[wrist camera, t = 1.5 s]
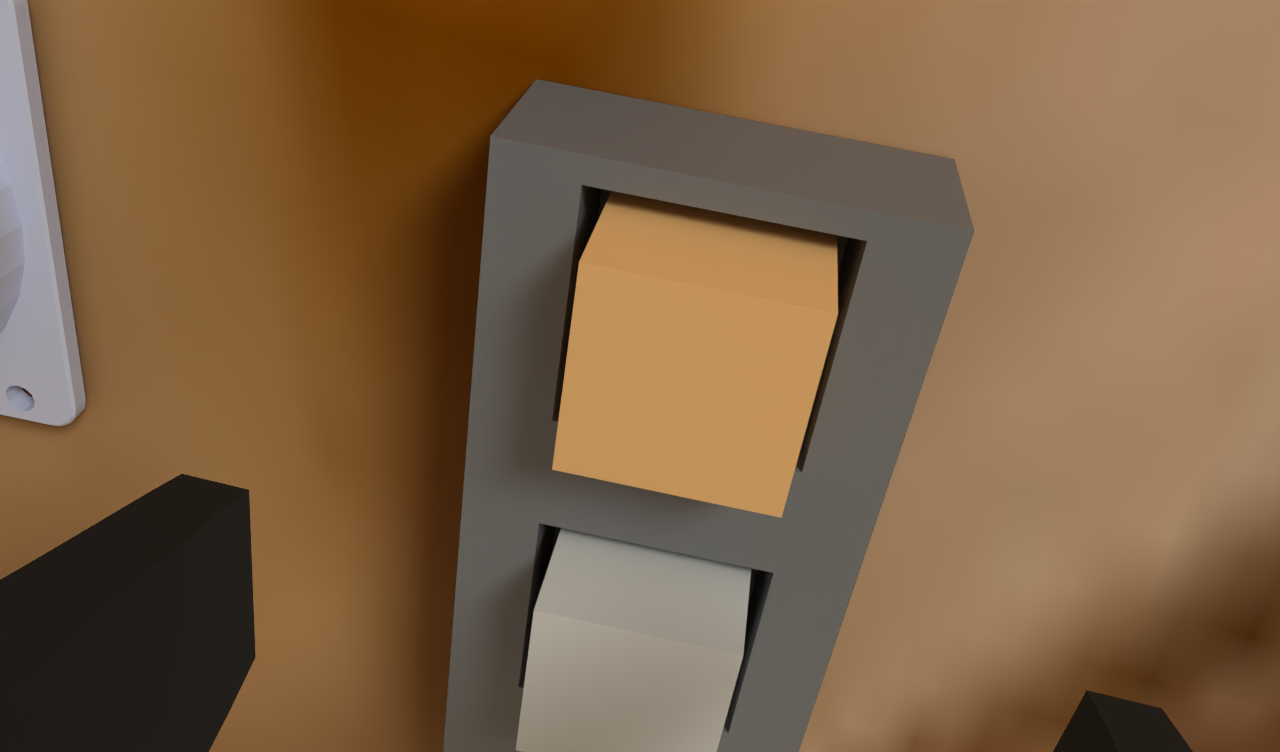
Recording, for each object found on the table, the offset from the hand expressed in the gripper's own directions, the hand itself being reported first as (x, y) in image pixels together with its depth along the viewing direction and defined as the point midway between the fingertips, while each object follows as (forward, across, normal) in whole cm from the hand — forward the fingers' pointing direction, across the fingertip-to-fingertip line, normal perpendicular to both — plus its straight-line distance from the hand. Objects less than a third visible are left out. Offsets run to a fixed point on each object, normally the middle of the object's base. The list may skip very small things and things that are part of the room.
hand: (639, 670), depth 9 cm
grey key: (+7, 0, +5) cm, 9 cm away
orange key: (+7, 0, 0) cm, 7 cm away
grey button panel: (+8, 0, +6) cm, 10 cm away
